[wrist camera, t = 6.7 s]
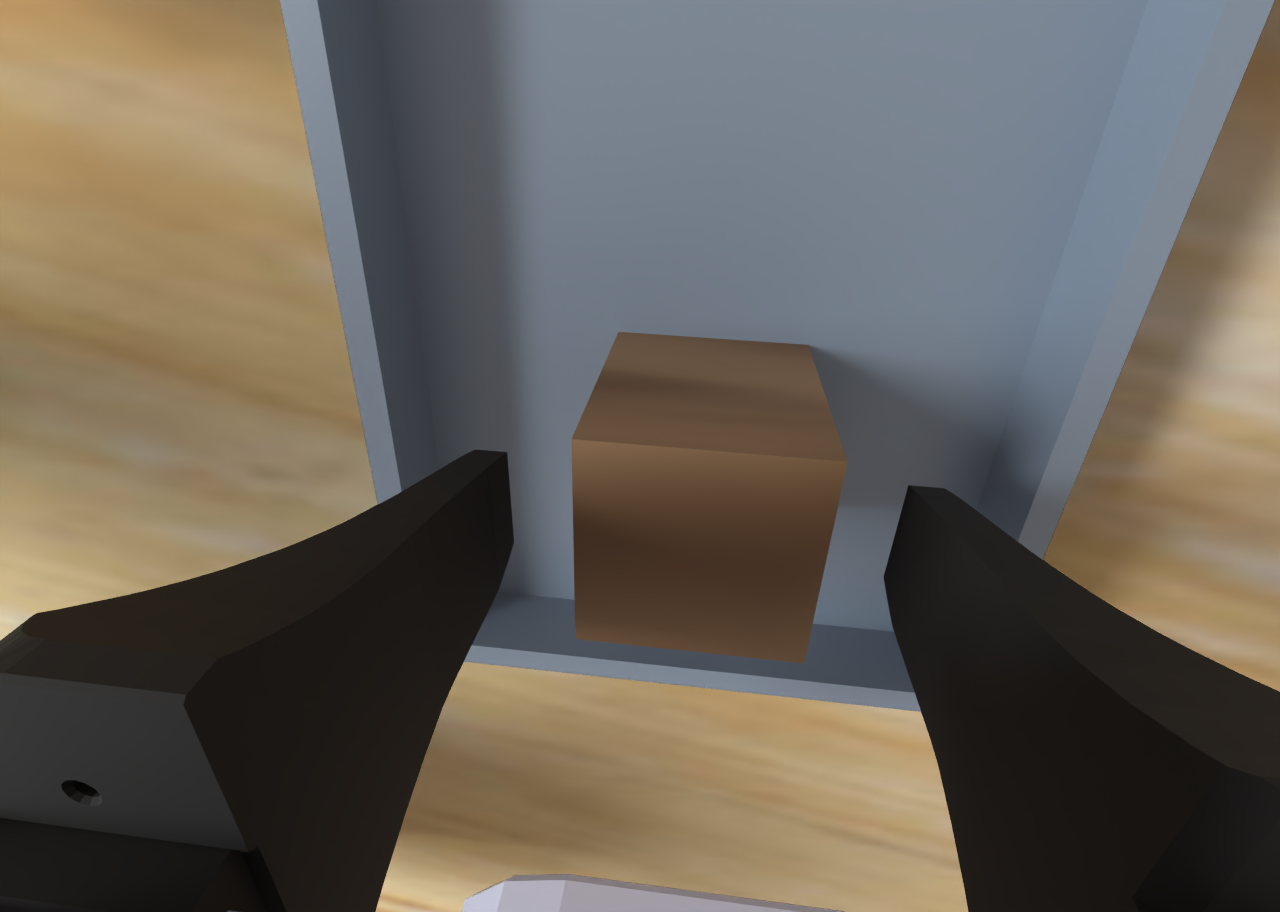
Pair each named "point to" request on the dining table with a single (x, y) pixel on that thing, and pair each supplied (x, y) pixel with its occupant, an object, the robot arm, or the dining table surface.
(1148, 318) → the dining table surface
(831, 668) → the tray
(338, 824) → the robot arm
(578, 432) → the walnut block
